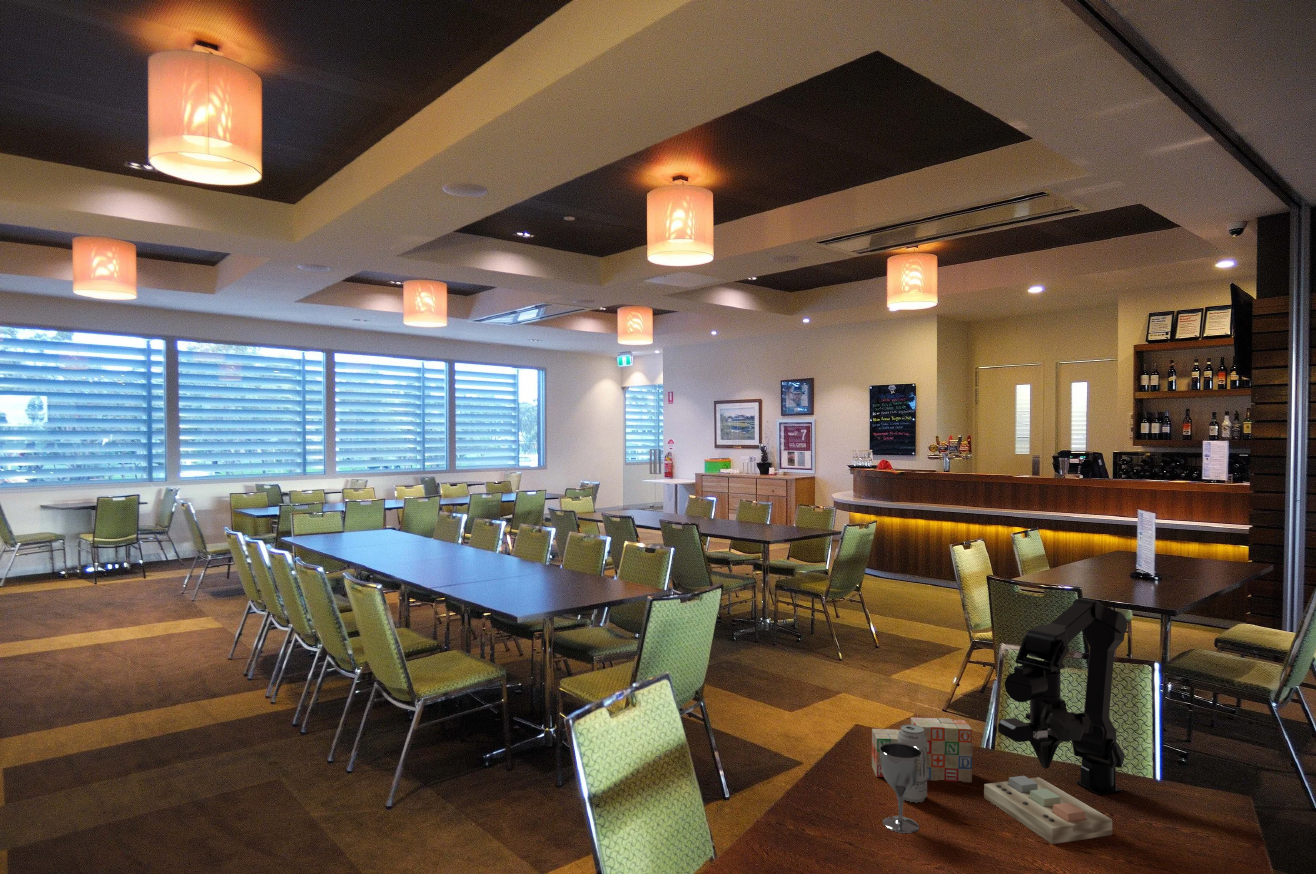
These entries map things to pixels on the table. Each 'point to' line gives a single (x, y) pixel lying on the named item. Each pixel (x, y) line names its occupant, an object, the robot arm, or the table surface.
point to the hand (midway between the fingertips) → (1045, 768)
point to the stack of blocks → (935, 748)
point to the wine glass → (900, 779)
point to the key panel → (1047, 813)
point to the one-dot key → (1044, 797)
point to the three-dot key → (1022, 784)
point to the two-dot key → (1069, 812)
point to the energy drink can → (918, 739)
